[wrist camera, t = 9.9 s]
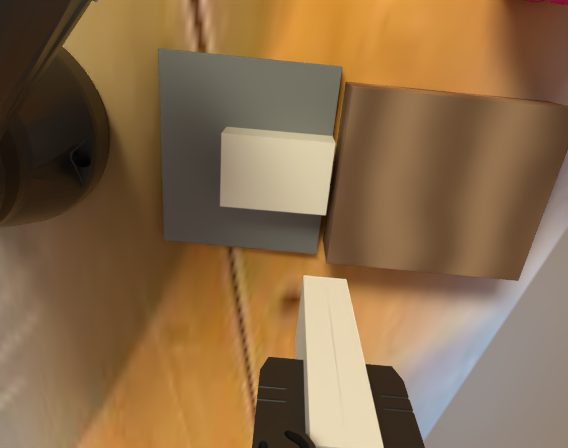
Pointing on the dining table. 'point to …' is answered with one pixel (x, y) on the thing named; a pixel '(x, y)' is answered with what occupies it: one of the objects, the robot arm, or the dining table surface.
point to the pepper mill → (552, 1)
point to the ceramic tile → (275, 170)
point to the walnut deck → (441, 180)
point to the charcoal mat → (207, 141)
